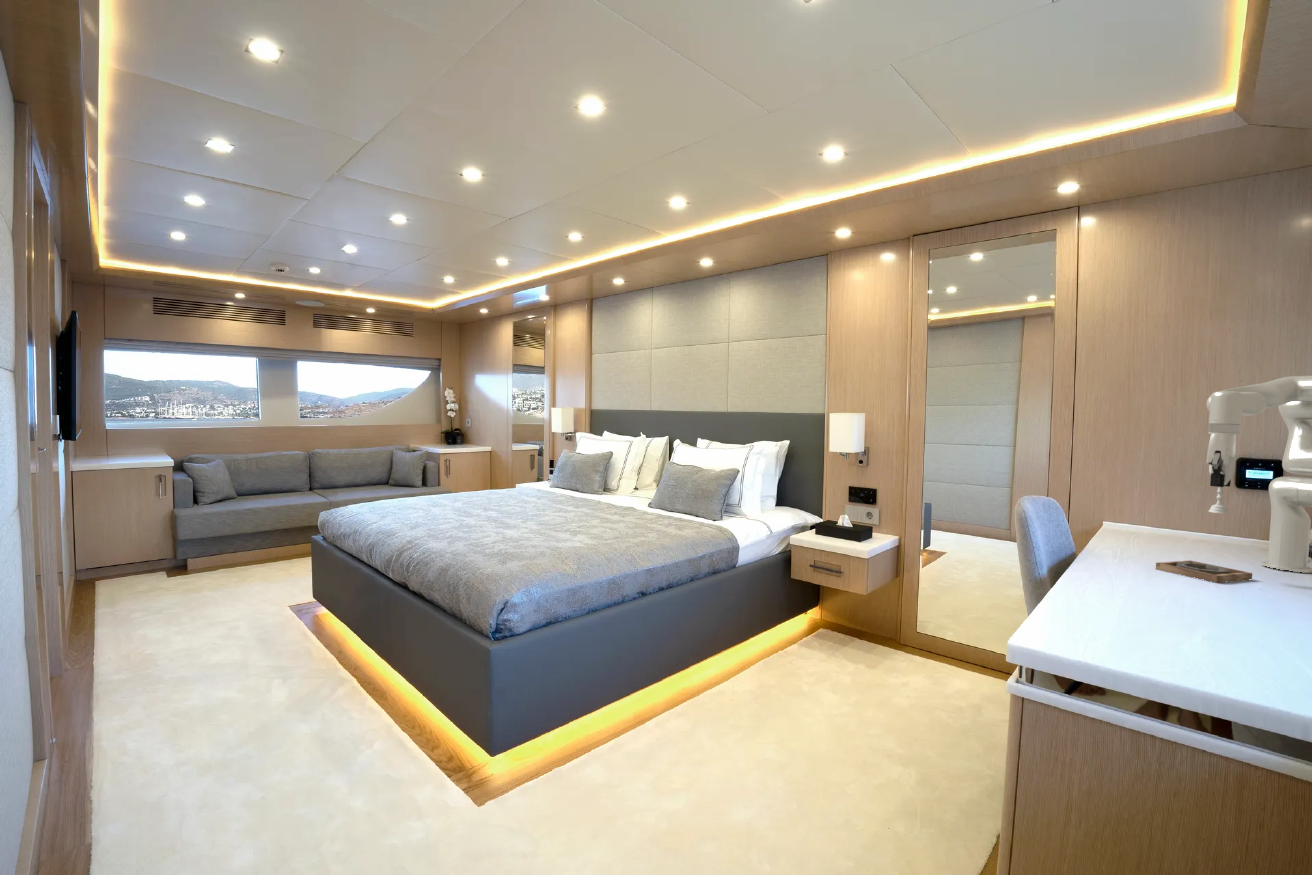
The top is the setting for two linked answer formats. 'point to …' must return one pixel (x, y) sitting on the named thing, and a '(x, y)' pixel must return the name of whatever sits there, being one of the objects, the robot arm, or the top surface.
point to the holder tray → (1202, 574)
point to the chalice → (1228, 475)
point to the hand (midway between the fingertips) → (1220, 485)
